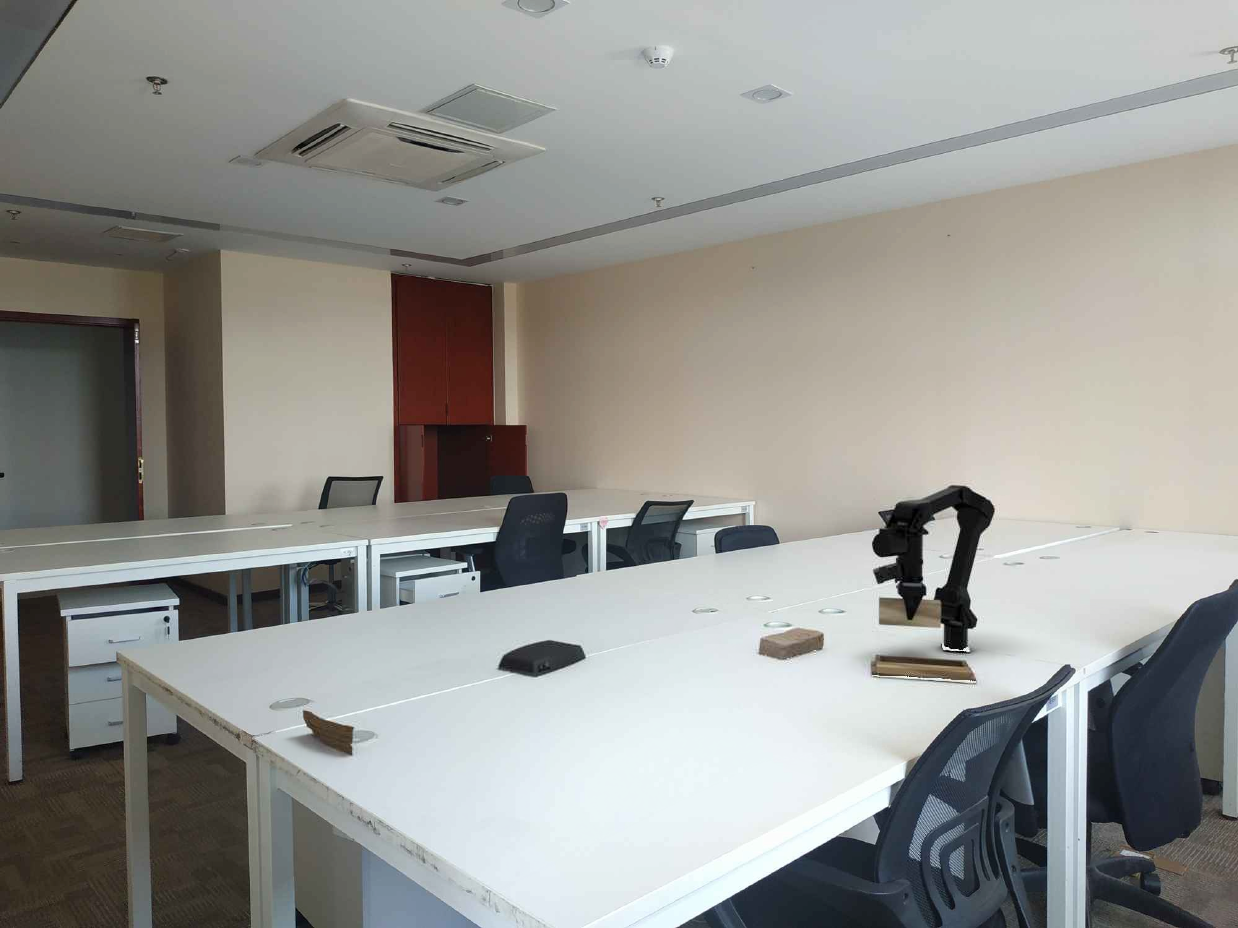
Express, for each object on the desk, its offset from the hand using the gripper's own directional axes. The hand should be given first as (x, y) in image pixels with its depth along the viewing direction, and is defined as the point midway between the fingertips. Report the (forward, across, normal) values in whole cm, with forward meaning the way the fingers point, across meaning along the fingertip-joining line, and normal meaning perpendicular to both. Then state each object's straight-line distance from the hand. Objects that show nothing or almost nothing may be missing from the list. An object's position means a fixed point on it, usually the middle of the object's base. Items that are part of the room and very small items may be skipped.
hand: (909, 618), depth 207 cm
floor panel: (+10, +12, +2) cm, 16 cm away
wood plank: (+11, +84, -104) cm, 134 cm away
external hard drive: (+11, +25, -85) cm, 89 cm away
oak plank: (+2, 0, 0) cm, 2 cm away
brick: (+11, -1, -28) cm, 30 cm away
